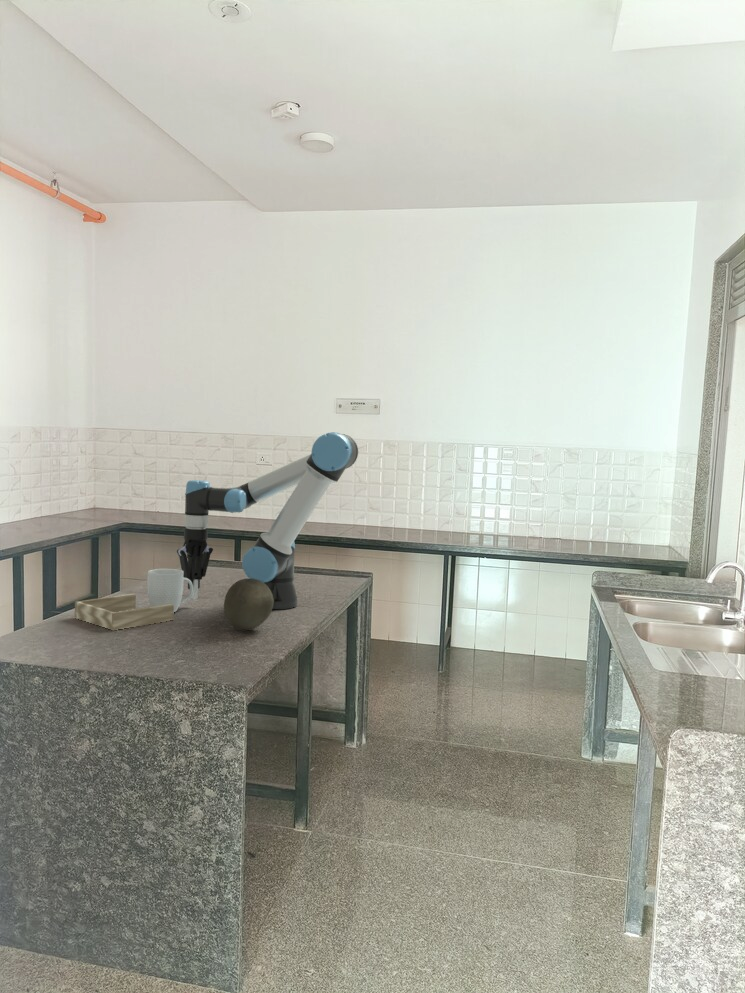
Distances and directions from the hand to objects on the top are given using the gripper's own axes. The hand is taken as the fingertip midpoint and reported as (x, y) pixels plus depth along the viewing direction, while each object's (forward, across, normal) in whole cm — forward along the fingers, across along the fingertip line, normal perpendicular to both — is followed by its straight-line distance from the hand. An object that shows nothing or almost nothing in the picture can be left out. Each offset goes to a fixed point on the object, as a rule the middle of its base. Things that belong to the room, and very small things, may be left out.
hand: (193, 598), depth 241 cm
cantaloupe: (+2, +6, +35) cm, 36 cm away
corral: (+3, +26, +1) cm, 26 cm away
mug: (+3, +10, +1) cm, 10 cm away
